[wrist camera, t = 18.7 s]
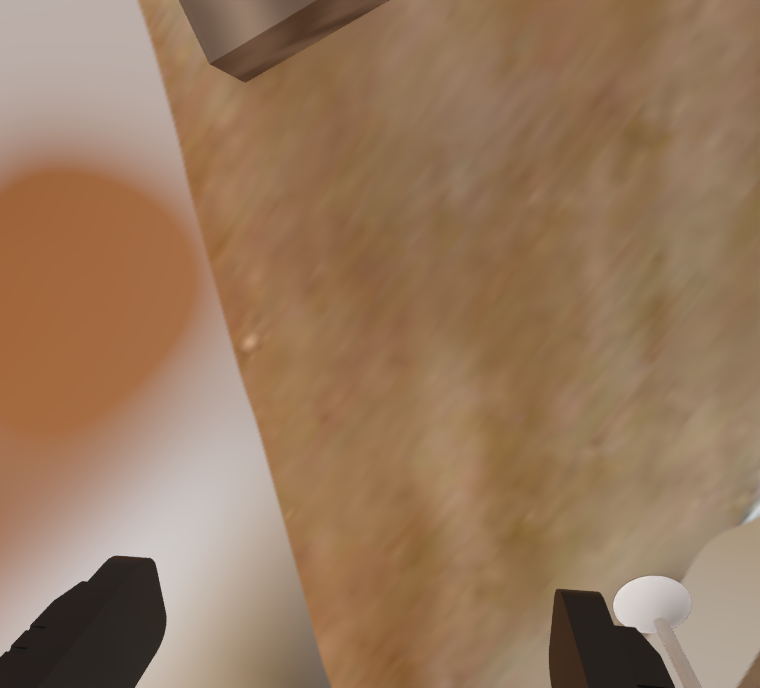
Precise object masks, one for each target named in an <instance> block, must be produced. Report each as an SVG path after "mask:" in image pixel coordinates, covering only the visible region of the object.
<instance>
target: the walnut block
mask: <svg viewBox="0 0 760 688" xmlns="http://www.w3.org/2000/svg"><path fill="white" fill-rule="evenodd" d="M179 1H180V3H181V5H182V8H183V10H184V12H185V14H186V16H187V18H188V20H189V22H190V24H191V26H192V28H193V30H194V33H195V35H196V37H197V39H198V41H199V43H200V45H201V47H202V49H203V51H204V53H205V55H206V58H207V60H208V62H209V64H211V65H213V66H215V67H216V68H218V69H220V70H222V71H224V72H226V73H228V74H230V75H232V76H234V77H236V78H238V79H240V80H241V81H243V82H247V81H249V80H251V79H252V78H254V77H256V76H258V75H259V74H261V73H263V72H265V71H266V70H268V69H270V68H272V67H273V66H275V65H277V64H279V63H280V62H282V61H284V60H286V59H287V58H289V57H291V56H293V55H294V54H296V53H298V52H300V51H301V50H303V49H305V48H306V47H308V46H310V45H312V44H313V43H315V42H317V41H319V40H320V39H322V38H324V37H326V36H327V35H329V34H331V33H333V32H334V31H336V30H338V29H340V28H341V27H343V26H345V25H347V24H348V23H350V22H352V21H354V20H355V19H357V18H359V17H361V16H362V15H364V14H366V13H368V12H369V11H371V10H373V9H375V8H376V7H378V6H380V5H382V4H383V3H385V2H387V1H389V0H179Z"/></svg>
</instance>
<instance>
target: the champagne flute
mask: <svg viewBox="0 0 760 688" xmlns="http://www.w3.org/2000/svg"><path fill="white" fill-rule="evenodd" d="M691 606H692V601H691V596H690V594H689V592H688V591H687V589H686V588H685V587H684V586H683V585H681V584H680V583H679V582H677V581H675V580H673V579H671V578H667V577H663V576H645V577H640V578H637V579H634V580H632V581H630V582H628V583H627V584H625V585H624V586H623V587H622V588H621V589H620V590H619V591H618V592H617V594H616V596H615V599H614V602H613V609H614V613H615V615H616V617H617V619H618V620H619V621H620V622H621V623H622V624H623V625H625V626H626V627H635V628H636V629H637V630H638V631H639V632H641V633H653V634H655V633H658V634H659V636H660V638H661V640H662V642H663V645H664V647H665V649H666V651H667V653H668V655H669V657H670V659H671V661H672V663H673V665H674V668H675V669H676V672H677V674H678V676H679V678H680V680H681V682H682V684H683V686H684V688H702V687H701V685H700V683H699V681H698V679H697V677H696V675H695V673H694V672H693V670H692V668H691V666H690V664H689V662H688V660H687V658H686V656H685V654H684V652H683V650H682V648H681V646H680V644H679V642H678V640H677V639H676V637H675V635H674V633H673V631H672V629H673V628H676V627H677V626H679V625H680V624H681V623H682V622H683V621H684V620H685V619H686V618H687V617H688V615H689V613H690V611H691Z"/></svg>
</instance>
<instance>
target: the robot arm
mask: <svg viewBox="0 0 760 688" xmlns="http://www.w3.org/2000/svg"><path fill="white" fill-rule="evenodd" d="M165 629H166V611H165V607H164V601H163V597H162V592H161V587H160V582H159V578H158V573H157V568H156V565H155V562H154V561H153V560H152V559H151V558H141V557H128V556H113V557H111V558H109V559H108V560H107V561H106V562H105V563H104V564H103V565H102V566H101V567H100V568H99V570H98V571H97V572H96V573H95V574H94V575H93V576H92V577H91V578H90V579H89V581H88V582H85V581H82V582H80V583H79V584H77V585H76V586H74V587H73V588H72V589H70V590H69V591H67V592H66V593H64V594H63V595H61V596H60V597H59V598H57V599H56V600H54V601H53V602H52V603H51V604H50V605H49V606H48V607H47V608H46V609H45V611H43V613H42V614H41V615H40V616H39V617H38V618H37V619H36V620H35V621H34V622H33V623H32V624H31V626H30V629H29V630H26V631H25V632H24V633H23V634H22V635H21V636H20V637H19V638H18V639H17V640H16V641H15V642H14V643H13V644H12V645H11V649H10V651H9V652H5V653H4V654H3V655H2V656H1V657H0V688H135V686H136V685H137V683H138V681H139V680H140V678H141V676H142V675H143V673H144V672H145V670H146V668H147V667H148V665H149V663H150V662H151V660H152V659H153V657H154V656H155V654H156V652H157V650H158V649H159V647H160V645H161V642H162V640H163V636H164V633H165ZM549 670H550V679H551V686H552V688H675V686H674V684H673V682H672V680H671V677H670V675H669V673H668V671H667V669H666V667H665V664H664V662H663V660H662V658H661V656H660V654H659V653H658V652H657V651H656V650H655V649H654V648H653V647H652V646H651V644H650V643H649V642H648V641H647V640H646V639H645V638H644V636H643V635H642V634H641V633H640V632H639V631H638V630H637V629H636V628H635V627H626V626H614V624H613V621H612V619H611V616H610V613H609V611H608V608H607V606H606V603H605V601H604V598H603V596H602V595H601V593H599V592H594V591H580V590H566V589H557V590H556V592H555V596H554V606H553V616H552V626H551V635H550V645H549Z"/></svg>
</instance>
